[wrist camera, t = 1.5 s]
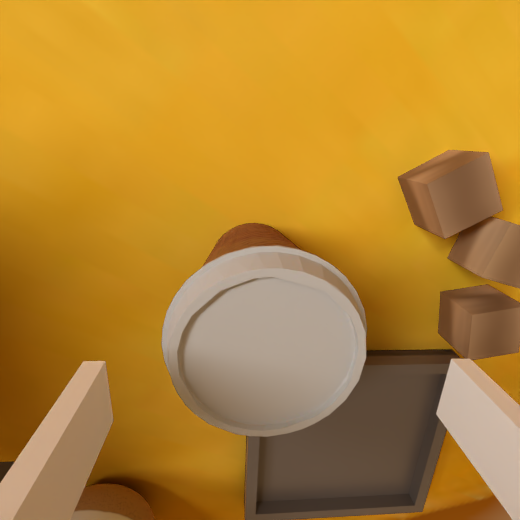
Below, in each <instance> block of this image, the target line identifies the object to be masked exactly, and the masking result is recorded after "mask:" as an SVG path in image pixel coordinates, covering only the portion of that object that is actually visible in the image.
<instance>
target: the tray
mask: <svg viewBox="0 0 520 520" xmlns="http://www.w3.org/2000/svg"><path fill="white" fill-rule="evenodd" d="M451 359H461V358H460V357H459V356H458V355H457V354H456V353H455V352H454V351H453V350H452V349H449V350H375V351H366V360H365V363H364V366H363V369H362V372H361V375H360V379H359V381H358V383H357V384H356V386H355V387H354V389H353V390H352V391H351V393H350V394H349V396H348V397H347V399H346V400H345V401H344V402H343V403H342V404H341V405H340V406H338V407H337V408H336V409H335V410H334V411H333V412H332V413H331V414H330V415H328V416H326V417H325V418H323V419H321V420H320V421H318V422H316V423H315V424H313V425H310V426H308V427H306V428H304V429H301V430H298V431H294V432H291V433H287V434H281V435H275V436H268V437H263V436H246V464H245V492H244V511H245V520H292V519H309V518H326V517H343V516H361V515H378V514H395V513H412V512H422V511H423V508H424V504H425V501H426V498H427V494H428V491H429V488H430V484H431V481H432V477H433V474H434V471H435V467H436V464H437V461H438V457H439V454H440V450H441V447H442V444H443V440H444V437H445V434H446V430H447V428H446V427H445V426H444V424H443V423H442V422H441V420H440V419H439V417H438V416H437V415H436V412H437V409H438V405H439V402H440V398H441V394H442V391H443V387H444V383H445V380H446V376H447V373H448V369H449V365H450V362H451Z"/></svg>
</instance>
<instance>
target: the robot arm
mask: <svg viewBox="0 0 520 520" xmlns="http://www.w3.org/2000/svg"><path fill="white" fill-rule="evenodd" d="M436 415H437V416H438V417H439V419H440V420H441V422H442V423H443V424H444V426H445V427H446V428H447V430H448V431H449V433H450V434H451V435H452V437H453V438H454V440H455V441H456V442H457V444H458V445H459V446H460V448H461V449H462V451H463V452H464V453H465V455H466V456H467V457H468V459H469V460H470V462H471V463H472V464H473V466H474V467H475V469H476V470H477V471H478V473H479V474H480V475H481V477H482V478H483V480H484V481H485V482H486V484H487V485H488V487H489V488H490V489H491V491H492V492H493V493H494V495H495V496H496V498H497V499H498V500H499V502H500V503H501V504H502V506H503V507H504V509H505V510H506V511H507V513H508V514H509V515H510V517H511V518H512V520H520V405H519V404H518V403H516V402H515V401H514V400H513V399H512V398H511V397H510V396H509V395H508V394H507V393H506V392H505V391H504V390H503V389H502V388H501V387H500V386H498V385H497V384H496V383H495V382H494V381H493V380H492V379H491V378H490V377H489V376H488V375H487V374H486V373H485V372H484V371H483V370H482V369H480V368H479V367H478V366H477V365H476V364H475V363H474V362H473V361H472V360H471V359H451V362H450V365H449V369H448V373H447V376H446V380H445V383H444V387H443V391H442V394H441V398H440V402H439V405H438V409H437V412H436ZM112 423H113V413H112V405H111V398H110V391H109V383H108V376H107V369H106V361H83V363H82V364H81V366H80V367H79V369H78V370H77V371H76V373H75V374H74V376H73V377H72V379H71V380H70V382H69V383H68V385H67V386H66V388H65V389H64V390H63V392H62V393H61V395H60V396H59V398H58V399H57V401H56V402H55V404H54V405H53V407H52V408H51V409H50V411H49V412H48V414H47V415H46V417H45V418H44V420H43V421H42V423H41V424H40V426H39V427H38V429H37V430H36V431H35V433H34V434H33V436H32V437H31V439H30V440H29V442H28V443H27V445H26V446H25V448H24V449H23V450H22V452H21V453H20V455H19V456H18V458H17V459H16V461H15V462H0V520H71V517H72V515H73V513H74V510H75V508H76V506H77V503H78V501H79V499H80V497H81V494H82V492H83V490H84V487H85V485H86V483H87V480H88V478H89V476H90V473H91V471H92V469H93V467H94V464H95V462H96V460H97V457H98V455H99V453H100V450H101V448H102V446H103V444H104V441H105V439H106V437H107V434H108V432H109V430H110V427H111V425H112Z"/></svg>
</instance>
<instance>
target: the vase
mask: <svg viewBox="0 0 520 520" xmlns="http://www.w3.org/2000/svg"><path fill="white" fill-rule="evenodd" d="M71 520H155V518H154V515H153V512H152V510H151V507H150V506H149V504H148V503H147V501H146V500H145V499H144V498H143V497H142V496H141V495H140V494H139V493H137V492H136V491H134V490H132V489H130V488H128V487H125V486H122V485H118V484H96V485H91V486H87V487H84V490H83V492H82V494H81V497H80V499H79V501H78V503H77V506H76V508H75V510H74V513H73V515H72V517H71Z"/></svg>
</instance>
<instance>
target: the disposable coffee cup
mask: <svg viewBox="0 0 520 520" xmlns="http://www.w3.org/2000/svg"><path fill="white" fill-rule="evenodd" d="M366 334H367V324H366V317H365V310H364V307H363V305H362V303H361V300H360V298H359V296H358V293H357V291H356V290H355V288H354V287H353V286H352V284H351V283H350V282H349V281H348V279H347V278H346V277H345V276H344V275H343V274H342V273H341V272H340V271H339V270H338V269H337V268H336V267H334V266H333V265H331V264H330V263H328V262H327V261H325V260H323V259H321V258H320V257H318V256H316V255H314V254H311V253H308V252H305V251H303V250H301V249H299V248H298V247H297V246H296V245H295V244H293V243H292V242H291V241H290V240H288V239H287V238H286V237H285V236H283V235H282V234H281V233H280V232H279V231H277V230H275V229H274V228H272V227H270V226H267V225H264V224H258V223H248V224H243V225H239V226H237V227H234V228H232V229H230V230H229V231H228V232H227V233H225V234H224V235H223V236H222V237H221V238H220V239H219V240H218V242H217V244H216V245H215V247H214V249H213V250H212V252H211V254H210V255H209V257H208V258H207V260H206V262H205V263H204V265H203V267H202V268H201V269H199V270H198V271H197V272H196V273H195V274H193V275H192V276H191V277H190V278H189V279H187V280H186V282H185V283H184V284H183V286H182V287H181V288H180V289H179V291H178V292H177V293H176V295H175V297H174V298H173V300H172V302H171V304H170V306H169V308H168V310H167V314H166V317H165V321H164V325H163V331H162V349H163V355H164V360H165V363H166V366H167V369H168V371H169V374H170V375H171V379H172V383H173V385H174V387H175V389H176V391H177V393H178V395H179V396H180V398H181V399H182V400H183V402H184V403H185V405H186V406H187V407H188V408H189V409H190V410H191V411H192V412H193V413H194V414H196V415H197V416H198V417H200V418H201V419H203V420H204V421H206V422H207V423H209V424H211V425H213V426H216V427H218V428H221V429H224V430H226V431H229V432H232V433H234V434H239V435H246V436H263V437H268V436H275V435H281V434H287V433H291V432H294V431H298V430H301V429H304V428H306V427H308V426H310V425H313V424H315V423H316V422H318V421H320V420H321V419H323V418H325V417H326V416H328V415H330V414H331V413H332V412H333V411H334V410H335V409H336V408H337V407H338V406H340V405H341V404H342V403H343V402H344V401H345V400H346V399H347V397H348V396H349V394H350V393H351V391H352V390H353V389H354V387H355V386H356V384H357V383H358V381H359V379H360V375H361V372H362V369H363V366H364V363H365V360H366Z"/></svg>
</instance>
